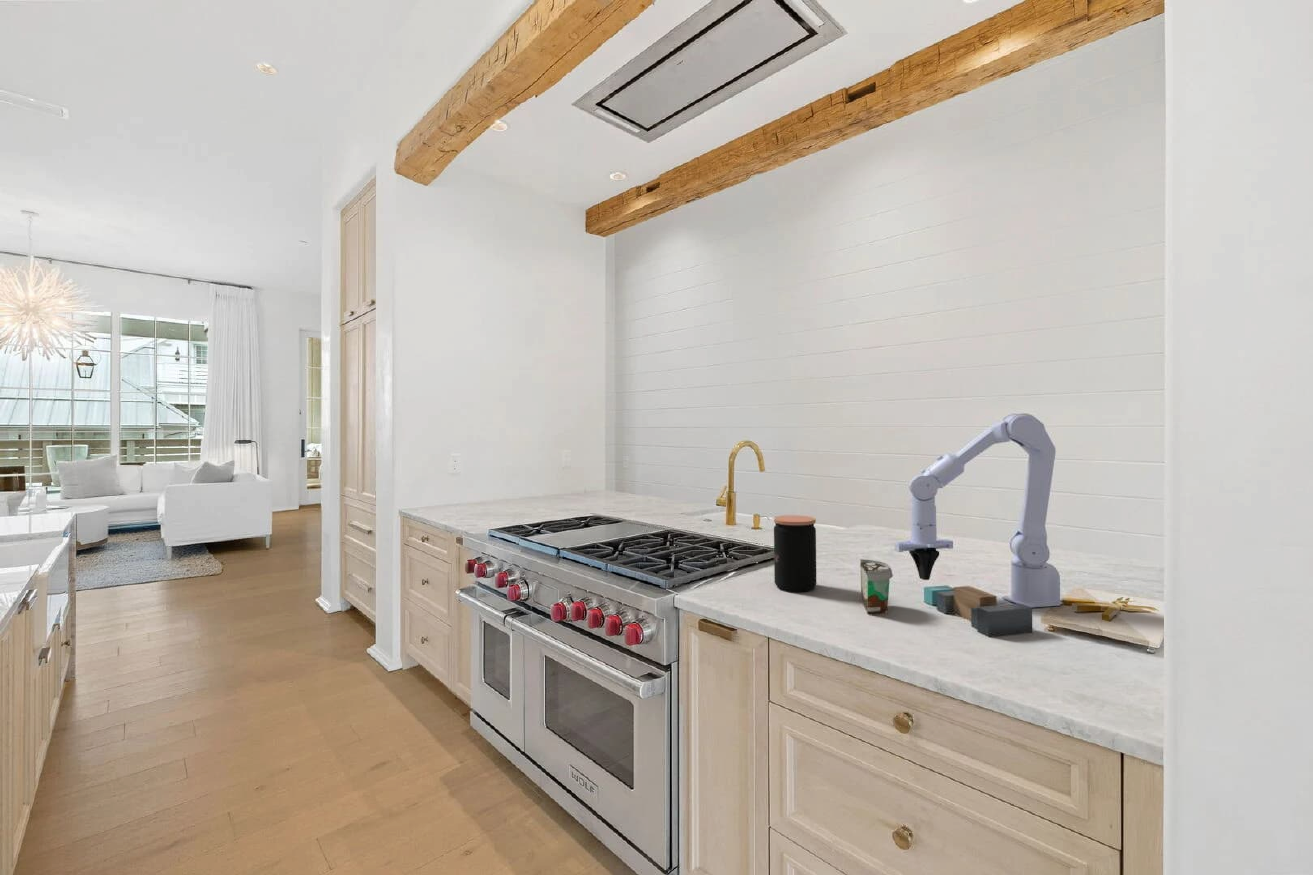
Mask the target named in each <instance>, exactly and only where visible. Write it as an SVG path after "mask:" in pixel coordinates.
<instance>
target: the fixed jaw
mask: <svg viewBox="0 0 1313 875" xmlns="http://www.w3.org/2000/svg"><path fill="white" fill-rule="evenodd" d="M970 623H971V627H972V628H974V629H976V631H977V633H980V634H981V635H984V636H986V637H987V636H988V638H991V637H992V636H993V637H1001V636H1002V637H1003V636H1012V635H1024V634H1033V608H1031V607H1028V606H1026V605H1023V604H1016V603H1012V604H1011V603H1010V604H997V605H992V606H980V607H971V622H970Z"/></svg>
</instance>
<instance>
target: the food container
mask: <svg viewBox="0 0 1313 875" xmlns="http://www.w3.org/2000/svg"><path fill="white" fill-rule="evenodd" d="M859 560H860V562H859V563H860V566H859V567H860V596H861V600H860V601H861V604H862V606H863V609H864V610H866V611H865V612H866V614H876V615H882V613H883V614H885V613H887V612H888V609H889V608H888V606H889V594H890V593H889V592H890V579H891V578H893V576H894V575H893V570H892V568H891V566H890V565H889V564H888V563H886V562H883V561H880V560H879V561H878V560H873V559H864V558H863V559H859ZM886 611H887V612H886Z"/></svg>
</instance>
